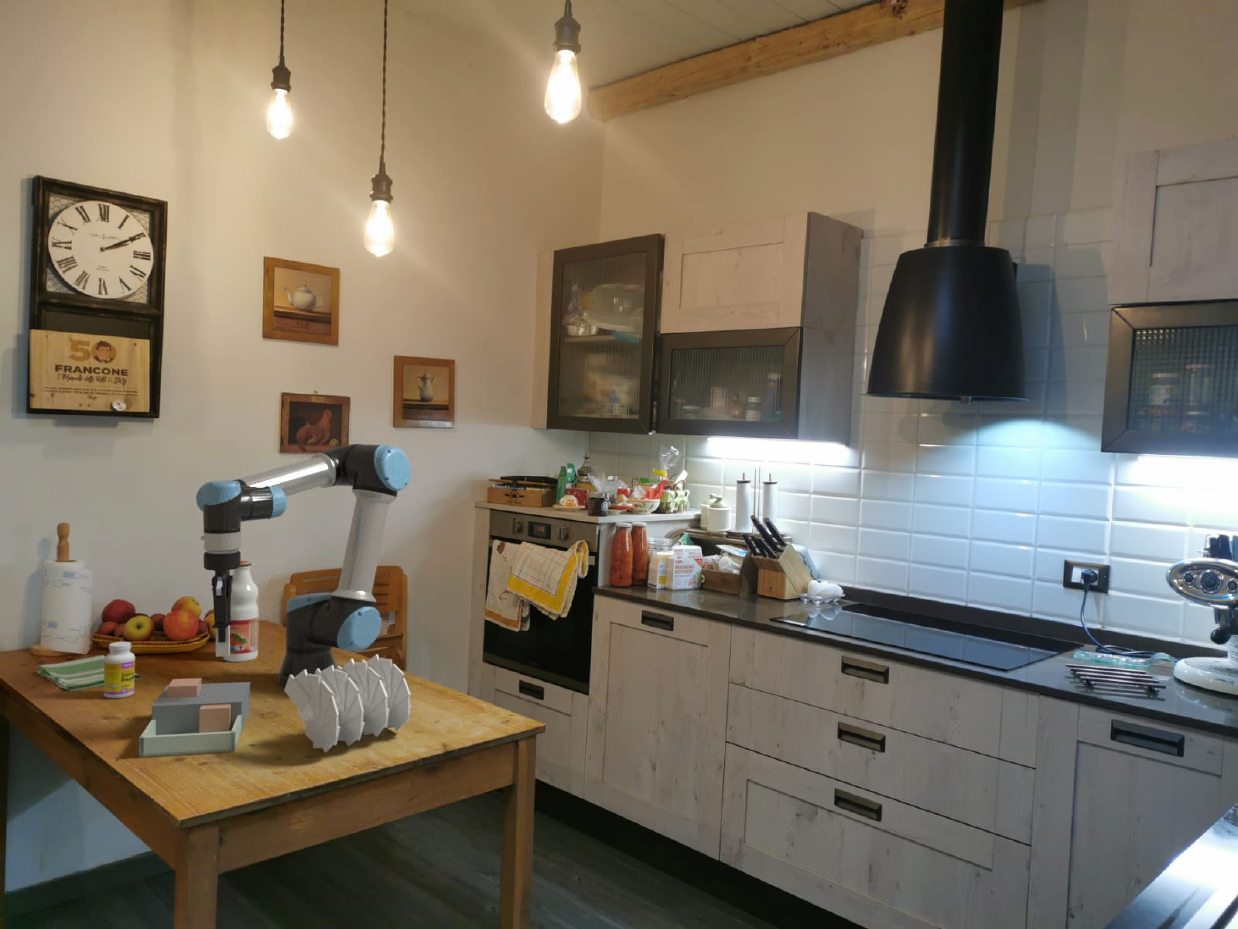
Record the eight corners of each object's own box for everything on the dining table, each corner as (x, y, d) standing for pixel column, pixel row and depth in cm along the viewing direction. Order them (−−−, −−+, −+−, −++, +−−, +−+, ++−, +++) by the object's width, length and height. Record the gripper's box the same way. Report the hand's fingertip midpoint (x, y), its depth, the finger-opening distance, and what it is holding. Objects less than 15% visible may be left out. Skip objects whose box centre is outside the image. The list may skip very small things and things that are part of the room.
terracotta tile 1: (231, 704, 199) (229, 707, 197) (230, 731, 199) (229, 734, 197) (201, 705, 198) (199, 709, 195) (201, 732, 198) (199, 736, 195)
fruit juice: (264, 658, 262) (266, 562, 260) (233, 664, 254) (234, 565, 253) (247, 652, 267) (248, 558, 266) (216, 658, 260) (217, 561, 259)
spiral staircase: (408, 748, 206) (312, 774, 186) (367, 700, 215) (271, 719, 195) (436, 683, 201) (340, 702, 181) (393, 636, 210) (297, 650, 191)
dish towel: (66, 694, 224) (66, 683, 224) (33, 675, 239) (33, 665, 239) (141, 680, 238) (142, 670, 238) (106, 663, 253) (106, 653, 253)
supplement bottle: (121, 700, 220) (121, 648, 219) (97, 698, 221) (97, 646, 220) (140, 692, 226) (141, 641, 226) (117, 690, 227) (118, 639, 227)
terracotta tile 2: (201, 688, 208) (201, 678, 208) (196, 696, 202) (197, 685, 202) (172, 690, 206) (173, 679, 206) (167, 698, 201) (167, 686, 201)
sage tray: (241, 733, 200) (241, 715, 200) (234, 751, 189) (234, 732, 189) (151, 738, 195) (151, 719, 195) (139, 757, 184) (139, 738, 184)
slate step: (249, 711, 215) (250, 682, 215) (241, 733, 200) (241, 701, 200) (166, 715, 210) (166, 685, 210) (151, 738, 195) (152, 706, 195)
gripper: (208, 546, 205) (208, 648, 207) (199, 556, 193) (199, 664, 194) (243, 545, 207) (244, 646, 209) (236, 555, 195) (237, 662, 196)
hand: (222, 655), depth 202 cm, fingers closed
